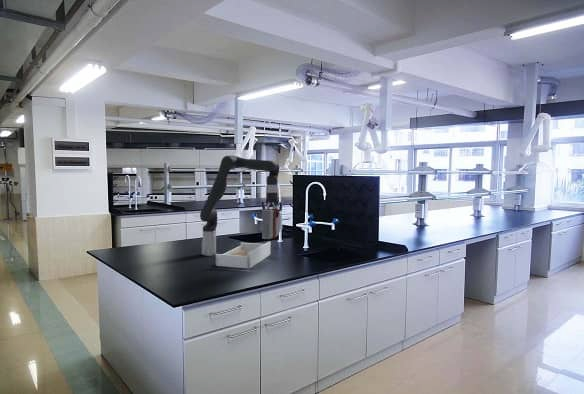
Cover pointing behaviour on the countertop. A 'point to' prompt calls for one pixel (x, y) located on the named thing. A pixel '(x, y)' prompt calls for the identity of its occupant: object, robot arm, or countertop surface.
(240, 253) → the top offcut
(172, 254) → the countertop surface
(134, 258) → the countertop surface
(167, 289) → the countertop surface
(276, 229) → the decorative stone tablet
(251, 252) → the white open box
